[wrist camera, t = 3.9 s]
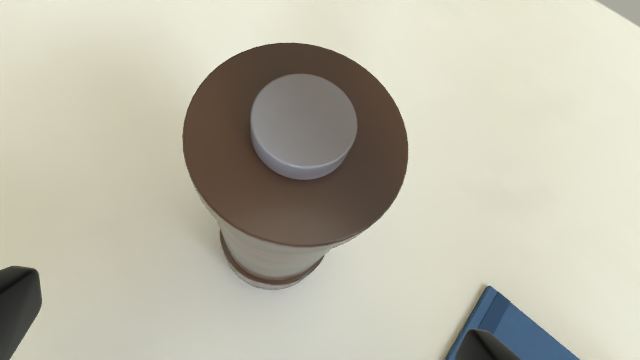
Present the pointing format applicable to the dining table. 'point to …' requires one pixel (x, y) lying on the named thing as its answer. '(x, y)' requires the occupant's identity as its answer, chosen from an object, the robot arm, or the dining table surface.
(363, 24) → the dining table surface
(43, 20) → the dining table surface
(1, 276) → the robot arm
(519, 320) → the napkin
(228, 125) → the pepper mill
